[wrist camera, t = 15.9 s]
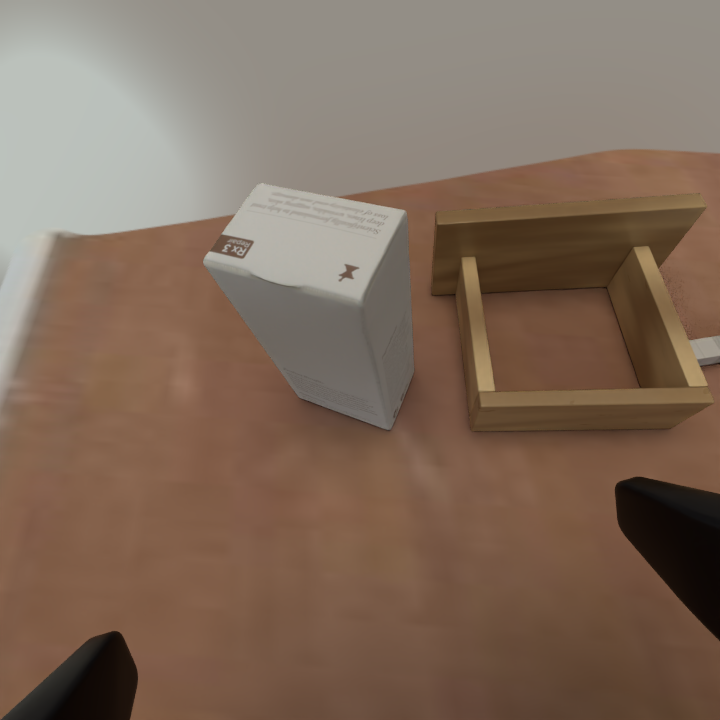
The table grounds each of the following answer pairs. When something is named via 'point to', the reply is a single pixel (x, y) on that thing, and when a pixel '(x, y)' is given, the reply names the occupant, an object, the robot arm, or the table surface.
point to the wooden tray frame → (575, 270)
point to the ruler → (706, 350)
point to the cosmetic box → (324, 295)
